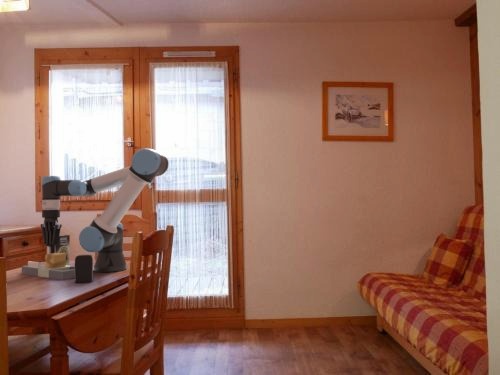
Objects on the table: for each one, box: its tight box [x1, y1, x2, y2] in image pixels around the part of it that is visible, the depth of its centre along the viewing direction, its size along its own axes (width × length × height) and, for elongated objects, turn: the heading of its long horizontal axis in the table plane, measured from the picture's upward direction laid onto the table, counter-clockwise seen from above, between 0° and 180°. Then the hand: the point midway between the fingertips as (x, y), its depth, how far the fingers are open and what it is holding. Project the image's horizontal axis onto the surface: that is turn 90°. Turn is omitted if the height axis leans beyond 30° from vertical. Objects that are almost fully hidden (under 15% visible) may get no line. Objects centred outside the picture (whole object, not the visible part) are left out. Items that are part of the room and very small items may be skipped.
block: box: [44, 253, 66, 269], centre depth 184 cm, size 6×6×6 cm
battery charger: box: [74, 253, 94, 284], centre depth 166 cm, size 7×4×11 cm, turn 109°
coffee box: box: [55, 234, 71, 265], centre depth 206 cm, size 9×6×16 cm
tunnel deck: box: [21, 260, 75, 281], centre depth 184 cm, size 31×12×6 cm, turn 59°
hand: (50, 260), depth 186 cm, fingers closed
